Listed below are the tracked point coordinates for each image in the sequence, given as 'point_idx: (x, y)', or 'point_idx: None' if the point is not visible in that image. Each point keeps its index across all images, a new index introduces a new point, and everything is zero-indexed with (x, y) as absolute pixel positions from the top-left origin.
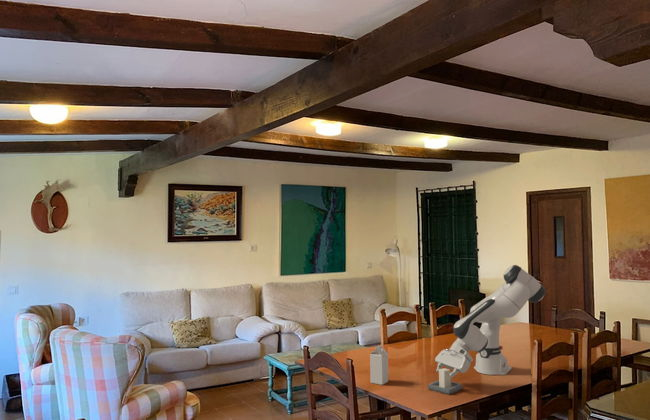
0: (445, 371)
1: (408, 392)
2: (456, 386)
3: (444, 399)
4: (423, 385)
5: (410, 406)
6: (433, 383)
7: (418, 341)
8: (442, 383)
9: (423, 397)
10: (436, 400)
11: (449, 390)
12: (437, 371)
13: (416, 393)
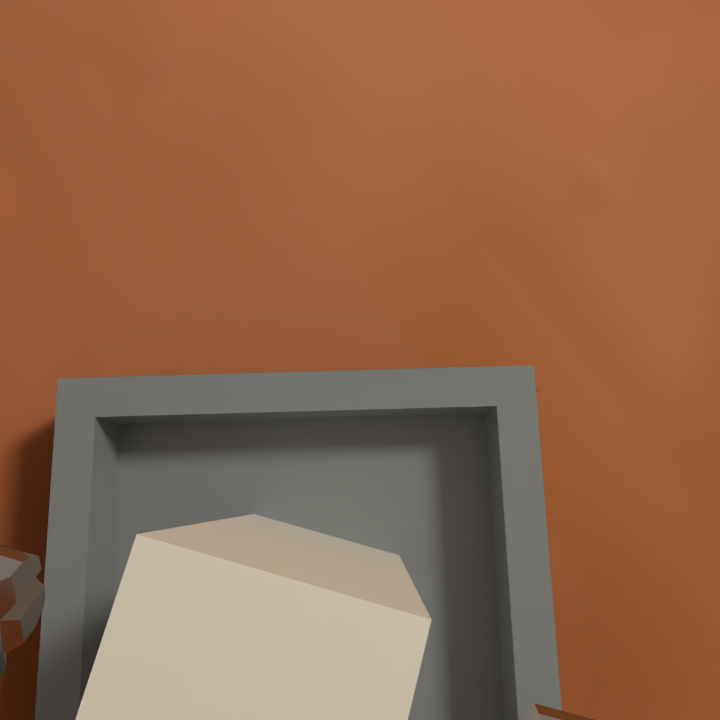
0: (125, 596)
1: (624, 54)
2: (39, 672)
3: (52, 175)
4: (715, 509)
5: None
6: (502, 501)
7: None
8: (296, 533)
9: (328, 38)
10: (120, 66)
11: (65, 399)
12: (552, 708)
13: (512, 100)
